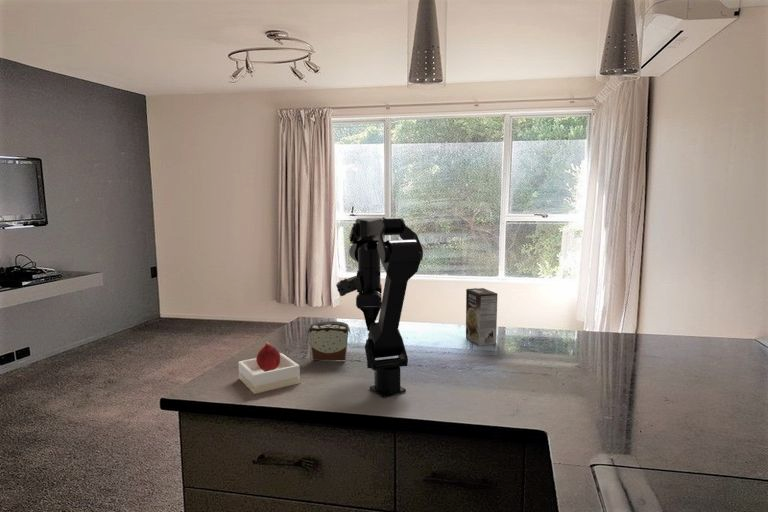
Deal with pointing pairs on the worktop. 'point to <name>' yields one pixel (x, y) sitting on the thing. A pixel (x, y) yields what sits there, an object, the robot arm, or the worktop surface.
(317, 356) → the food container
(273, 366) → the onion
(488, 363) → the worktop surface
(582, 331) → the worktop surface
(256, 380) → the open white tray
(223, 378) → the worktop surface
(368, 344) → the robot arm
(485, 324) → the coffee box
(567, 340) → the worktop surface
